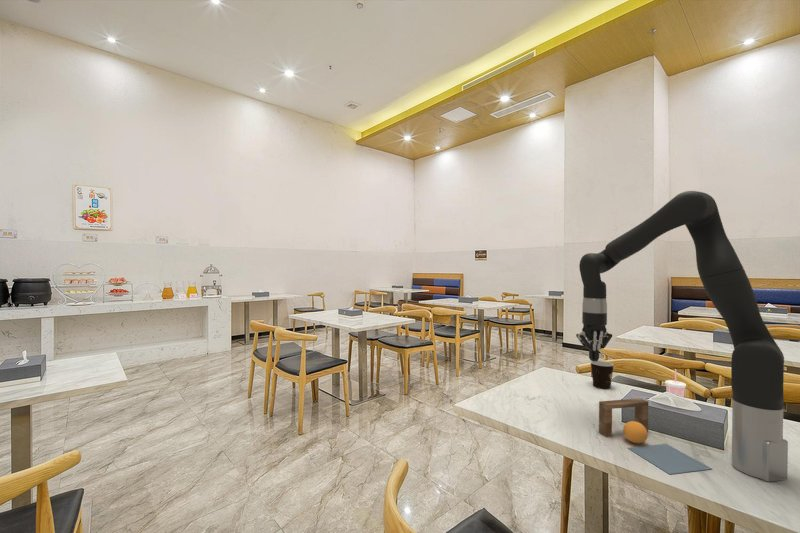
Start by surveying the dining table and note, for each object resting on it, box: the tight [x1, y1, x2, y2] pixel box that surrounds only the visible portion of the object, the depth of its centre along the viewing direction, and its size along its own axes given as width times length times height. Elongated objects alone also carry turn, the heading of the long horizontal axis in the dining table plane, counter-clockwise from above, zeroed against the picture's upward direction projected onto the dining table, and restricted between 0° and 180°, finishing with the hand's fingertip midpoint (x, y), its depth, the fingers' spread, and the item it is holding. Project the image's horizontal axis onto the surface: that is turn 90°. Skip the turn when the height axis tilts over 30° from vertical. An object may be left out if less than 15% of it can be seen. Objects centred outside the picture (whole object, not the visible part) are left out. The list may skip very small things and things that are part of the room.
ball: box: [622, 420, 649, 444], centre depth 106 cm, size 6×6×6 cm
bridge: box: [598, 397, 649, 438], centre depth 112 cm, size 3×15×10 cm, turn 101°
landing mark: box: [627, 443, 713, 476], centre depth 97 cm, size 13×13×1 cm
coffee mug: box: [590, 360, 615, 390], centre depth 154 cm, size 12×9×10 cm
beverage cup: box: [664, 368, 687, 399], centre depth 133 cm, size 6×6×14 cm
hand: (594, 360), depth 125 cm, fingers closed
